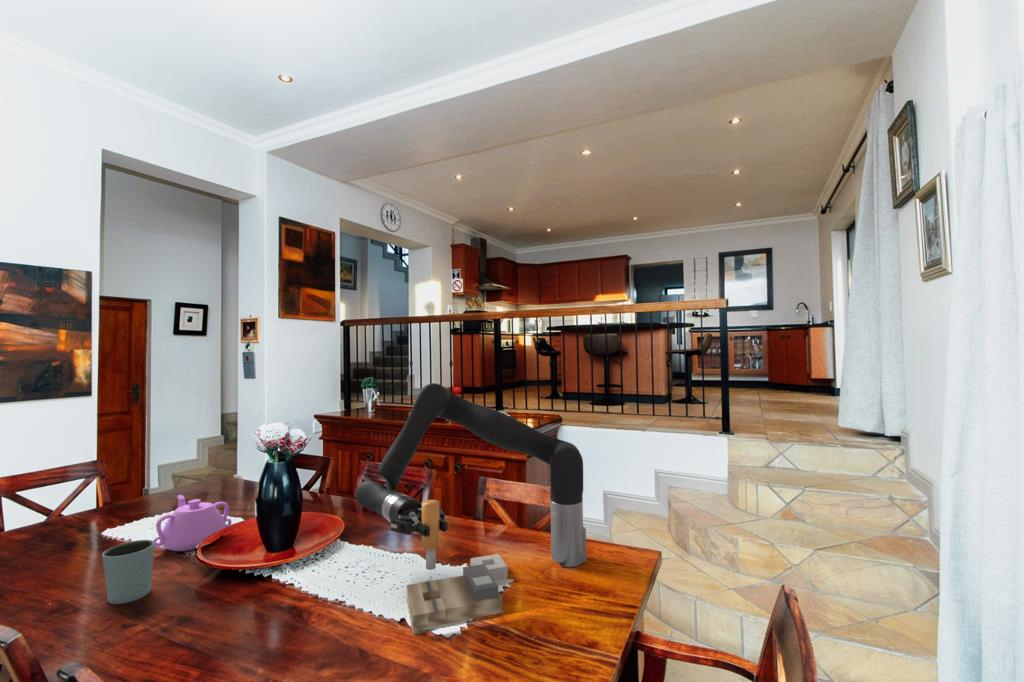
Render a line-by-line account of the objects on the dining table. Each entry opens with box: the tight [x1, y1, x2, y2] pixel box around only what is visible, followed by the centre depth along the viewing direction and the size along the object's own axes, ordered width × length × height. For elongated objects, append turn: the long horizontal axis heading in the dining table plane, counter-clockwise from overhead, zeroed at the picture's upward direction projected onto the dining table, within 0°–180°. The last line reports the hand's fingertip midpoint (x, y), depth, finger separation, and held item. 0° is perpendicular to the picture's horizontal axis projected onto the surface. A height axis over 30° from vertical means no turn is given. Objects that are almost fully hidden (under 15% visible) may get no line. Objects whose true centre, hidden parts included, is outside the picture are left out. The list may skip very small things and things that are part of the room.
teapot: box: [152, 494, 233, 552], centre depth 151 cm, size 22×22×14 cm
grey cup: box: [101, 539, 155, 605], centre depth 118 cm, size 10×10×12 cm
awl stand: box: [470, 553, 509, 581], centre depth 124 cm, size 8×8×4 cm
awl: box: [421, 499, 440, 571], centre depth 108 cm, size 4×4×15 cm
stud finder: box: [462, 564, 499, 601], centre depth 111 cm, size 6×12×3 cm, turn 18°
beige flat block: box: [406, 575, 504, 635], centre depth 109 cm, size 20×14×4 cm
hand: (437, 529), depth 106 cm, fingers closed on awl, 4 cm apart
